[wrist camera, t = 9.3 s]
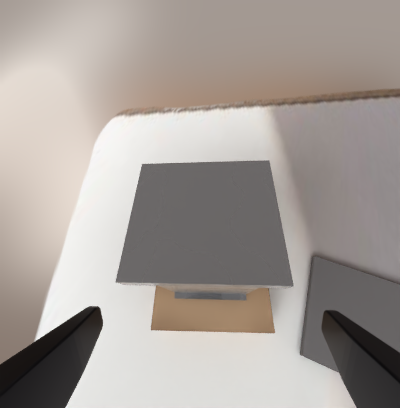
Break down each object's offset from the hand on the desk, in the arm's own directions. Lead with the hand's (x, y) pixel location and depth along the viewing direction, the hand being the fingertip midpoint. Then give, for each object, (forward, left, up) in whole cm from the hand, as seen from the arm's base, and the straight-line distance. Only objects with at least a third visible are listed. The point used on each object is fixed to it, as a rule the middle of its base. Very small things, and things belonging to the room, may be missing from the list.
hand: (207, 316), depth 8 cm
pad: (+8, -9, -10) cm, 16 cm away
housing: (+2, +2, -8) cm, 8 cm away
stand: (+2, +2, -10) cm, 11 cm away
